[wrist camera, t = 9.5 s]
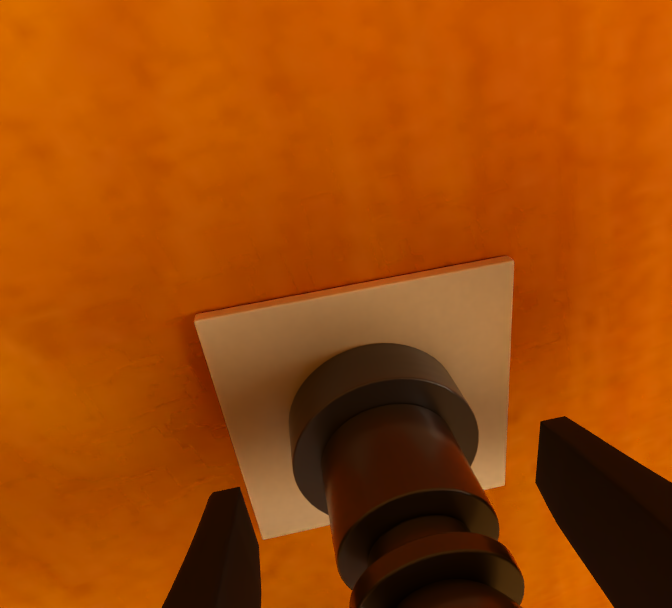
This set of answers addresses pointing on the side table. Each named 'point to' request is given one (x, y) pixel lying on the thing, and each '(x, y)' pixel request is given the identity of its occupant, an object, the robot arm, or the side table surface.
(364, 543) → the chess pawn
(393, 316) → the maple square
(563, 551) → the side table surface
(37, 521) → the side table surface
